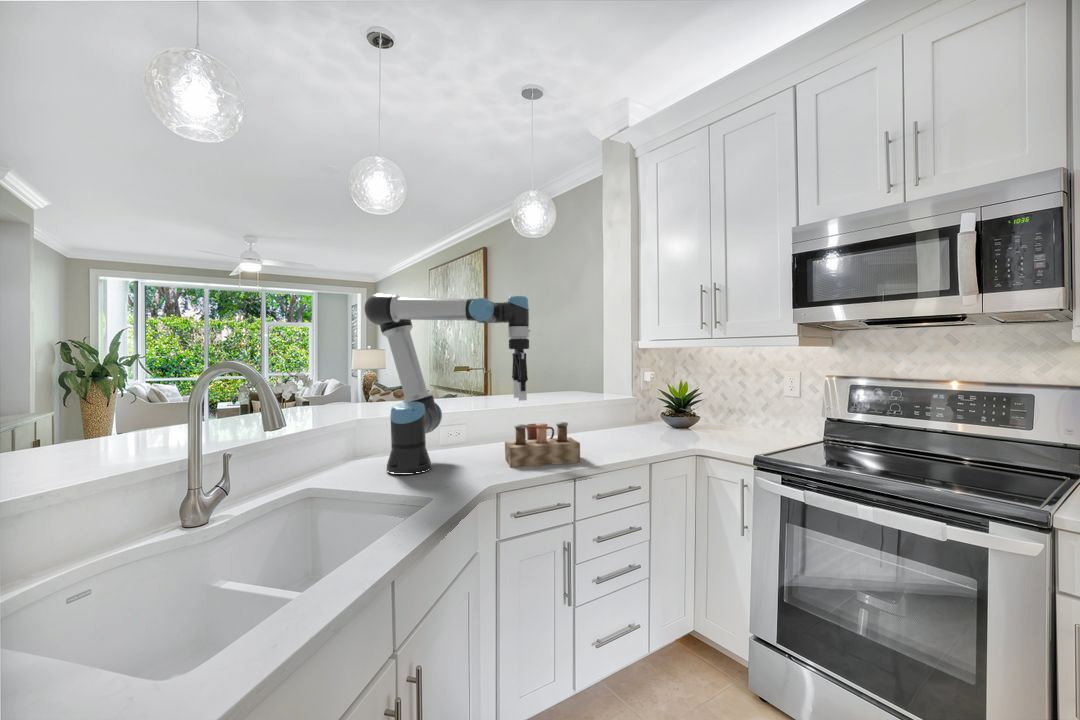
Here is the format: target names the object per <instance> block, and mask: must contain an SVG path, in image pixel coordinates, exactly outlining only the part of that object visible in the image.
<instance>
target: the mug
mask: <svg viewBox="0 0 1080 720" xmlns="http://www.w3.org/2000/svg"><path fill="white" fill-rule="evenodd" d="M536 424H537V423H528V424H525V425H526V428H525V430H526V432H527V439H526V440H537V427H536ZM549 429H550V430H551V436H550V437H549V438H548V439H554V436H555V428H554V427H552V426H547V427H546V431H547V430H549Z"/></svg>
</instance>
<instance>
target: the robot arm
mask: <svg viewBox="0 0 1080 720" xmlns="http://www.w3.org/2000/svg"><path fill="white" fill-rule="evenodd" d="M529 311H530V308H529V299H528V297H527V296H524V295H523V296H522V295H512V296H509V297H508V298H507V301H505V302H493V301H491V300H489V299H487V298H485V297H477V298H444V297H443V298H442V297H441V298H440V297H438V298H434V297H429V298H428V297H417V298H416V297H400V296H399V295H398V294H387V293H382V292H380V293H378V292H377V293H375V294H372V295H370V296H369V297H368V298H367V299H366V301H365V304H364V314H365V316H366V318H367V319H368V320H369V321H370V322H372V323H373V324H375V325H377V326H379V328H380V333H381V334H382V336H384V337H386V338H387V340H388V344H389V348H390V351H391V355H392V358H393V361H394V364H395V367H396V368H395V370H396V371H397V374H398V379H399V382H400V385H401V390H402V392H403V395H404V399H403V401H402V402H400V403H397V404H394V405H393V406H391V409H390V415H389V417H390V418H389V419H390V437H391V438H390V443H391V450H390V453H389V457H388V459H387V462H386V463H387V464H386V472H387V471H389V472H394V473H416V472H422V471H426V470H428V469H430V468H431V469H432V461H431V458H430V456H429V452H428V450H427V447H426V443H427V442H426V441H427V440H426V434H429V433H431V432H433V431H434V430H435V429H436V428H438V427H439V425H441V422H442V417H443V411H442V409H441V407H440V406H439V404H438V403H436V401H435V399H434V396H433V393H431V392H429V391H428V388H427V386H426V383H425V379H424V376H423V372H422V370H421V369H422V368H421V365H420V361H419V358H418V355H417V351H416V348H415V345H414V341H413V338H412V335H411V330H412V329H413V327H414V326H413V323H412V320H413V321H414V320H415V321H416V320H417V321H418V320H419V321H422V320H423V321H468V322H469V321H470V322H472V321H473V322H477V323H478V324H499V323H500V324H501V323H503V324H504V323H508V327H507V328H508V333H507V334H508V338H509V340H508V349H509V350H514V353H512V355H511V356H512V374H511V375H512V376H511V379H512V380H513V386H512V387H513V389H512V390H513V398H514V399H515V398H516V399H518V401H527V400H528V399H527V382H528V380H529V379H528V367H527V353H526V352H525V351H524V350H529V349H530V339H529V337H530V332H531V329H530V328H529V327H530V321H529V319H530V313H529ZM431 469H430V470H431ZM426 472H427V471H426Z"/></svg>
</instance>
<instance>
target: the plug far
mask: <svg viewBox="0 0 1080 720" xmlns="http://www.w3.org/2000/svg"><path fill="white" fill-rule="evenodd" d="M555 425H556V427H557V428H556V429H557V430H556V431H557V438H558V443H559V442H567V438H568V426H569V423H568V422H567V421H566V422H564V421H559V422H556V423H555Z"/></svg>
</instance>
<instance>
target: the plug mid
mask: <svg viewBox="0 0 1080 720" xmlns="http://www.w3.org/2000/svg"><path fill="white" fill-rule="evenodd" d="M535 424H536V427H537V444H543V443H547V439H548V438H547V430H546V427H548V423H546V422H545V423H542V422H541V423H535Z"/></svg>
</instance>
